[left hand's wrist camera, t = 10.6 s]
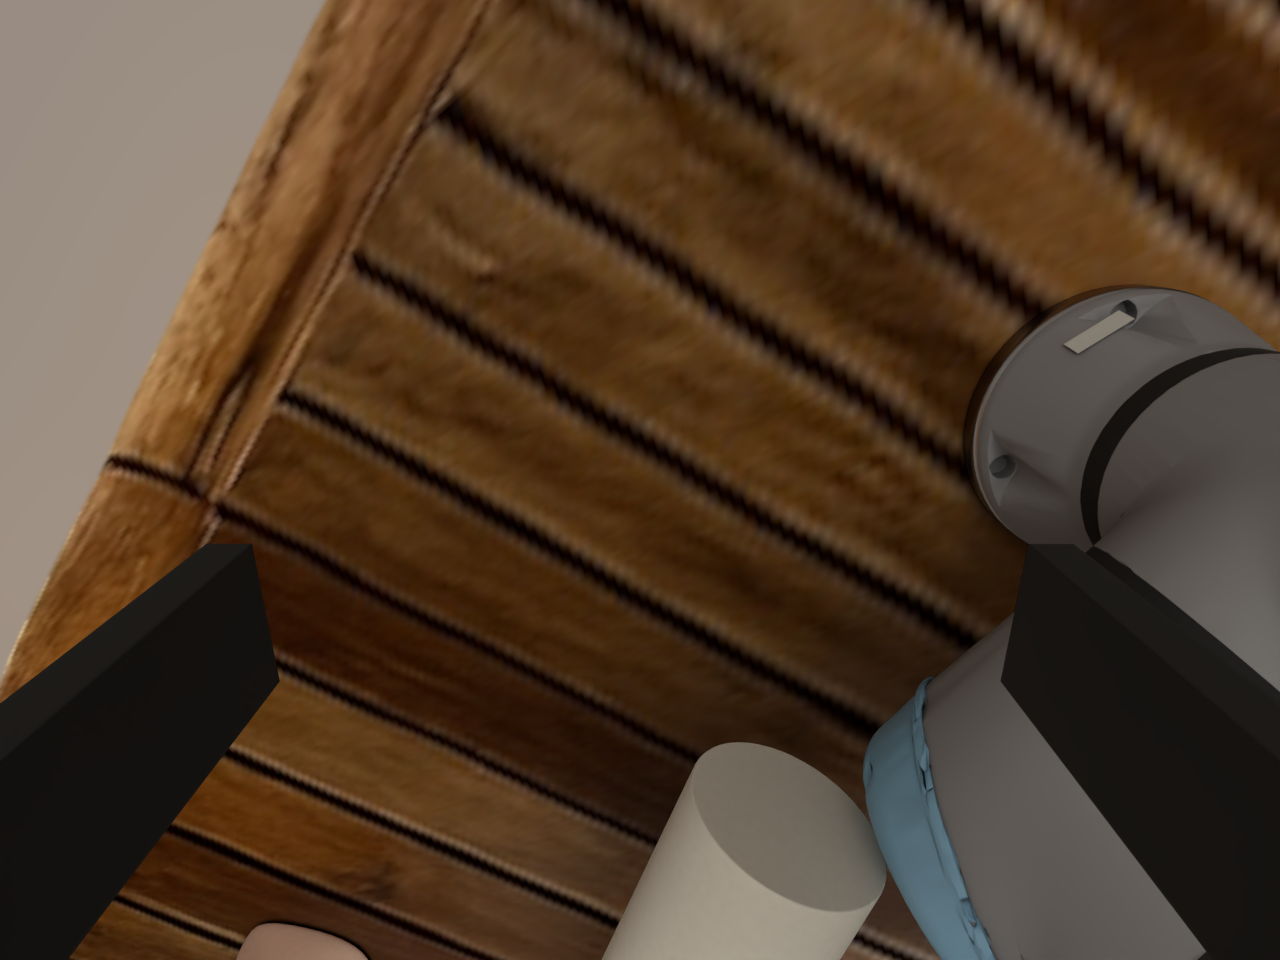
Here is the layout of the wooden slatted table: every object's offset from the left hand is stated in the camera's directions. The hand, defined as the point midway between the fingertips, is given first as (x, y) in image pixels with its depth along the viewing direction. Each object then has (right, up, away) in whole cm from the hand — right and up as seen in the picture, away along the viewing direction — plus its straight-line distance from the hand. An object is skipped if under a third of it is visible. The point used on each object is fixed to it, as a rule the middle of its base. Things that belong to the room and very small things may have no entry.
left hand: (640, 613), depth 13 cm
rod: (+2, -22, +26) cm, 34 cm away
